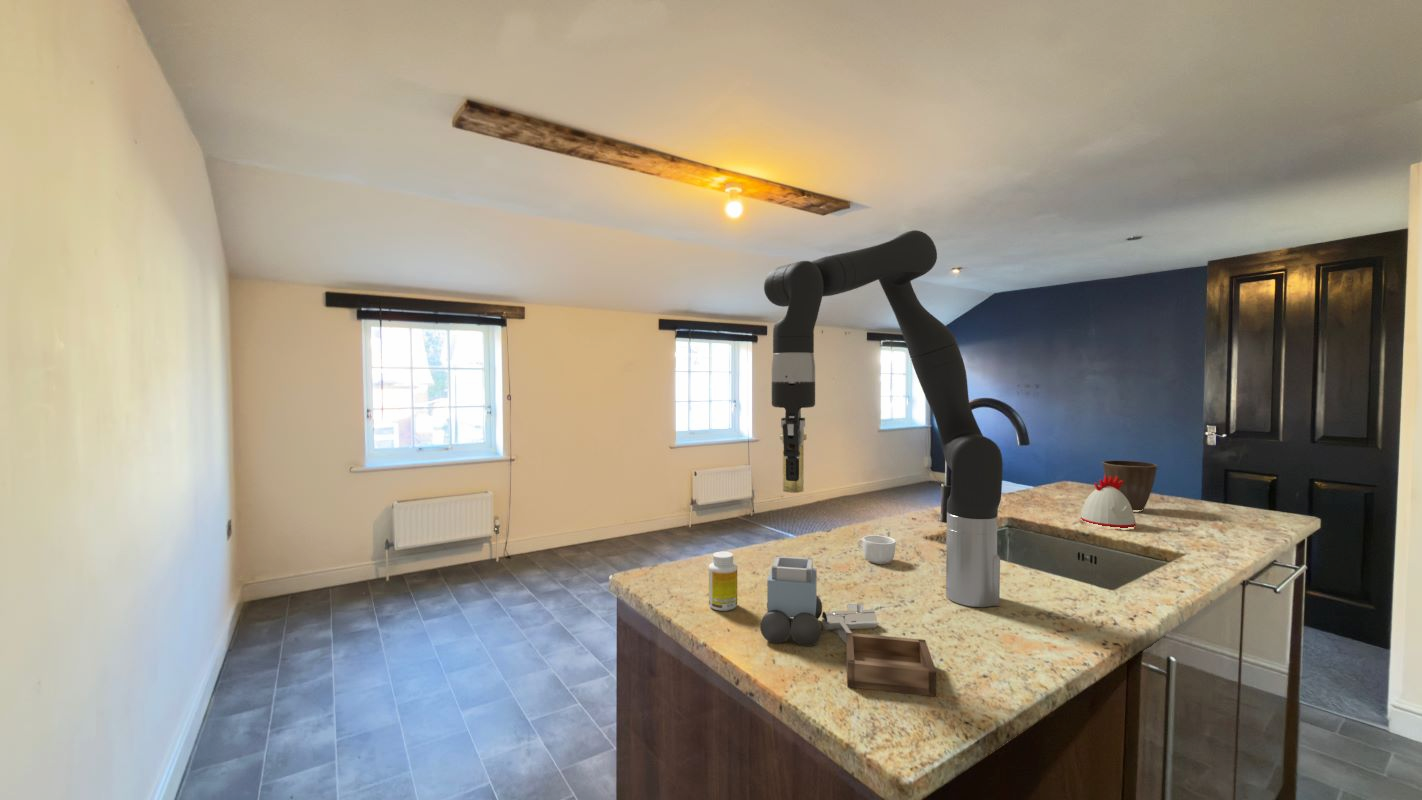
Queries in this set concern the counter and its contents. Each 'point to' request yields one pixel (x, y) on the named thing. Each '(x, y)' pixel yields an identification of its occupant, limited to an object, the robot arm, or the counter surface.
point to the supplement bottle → (723, 582)
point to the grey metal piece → (849, 619)
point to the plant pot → (1133, 480)
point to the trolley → (792, 602)
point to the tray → (889, 664)
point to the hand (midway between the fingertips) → (793, 478)
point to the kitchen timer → (1108, 506)
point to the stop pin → (799, 485)
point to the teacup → (878, 548)
